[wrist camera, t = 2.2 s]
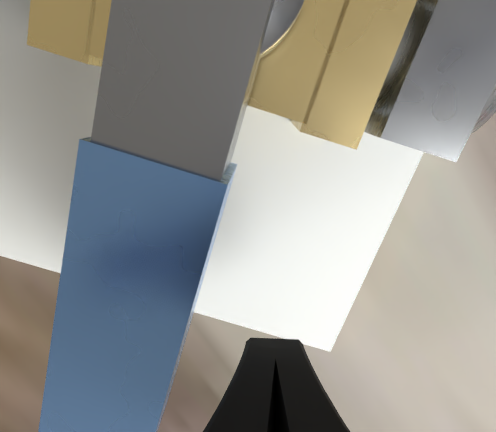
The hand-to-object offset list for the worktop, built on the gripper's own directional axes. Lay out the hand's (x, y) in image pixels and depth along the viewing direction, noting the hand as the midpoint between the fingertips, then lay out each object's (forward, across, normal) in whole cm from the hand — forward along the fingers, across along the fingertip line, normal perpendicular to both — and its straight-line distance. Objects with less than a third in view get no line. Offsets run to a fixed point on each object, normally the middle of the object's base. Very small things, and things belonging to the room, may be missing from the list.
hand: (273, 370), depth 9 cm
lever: (+1, +3, -5) cm, 5 cm away
